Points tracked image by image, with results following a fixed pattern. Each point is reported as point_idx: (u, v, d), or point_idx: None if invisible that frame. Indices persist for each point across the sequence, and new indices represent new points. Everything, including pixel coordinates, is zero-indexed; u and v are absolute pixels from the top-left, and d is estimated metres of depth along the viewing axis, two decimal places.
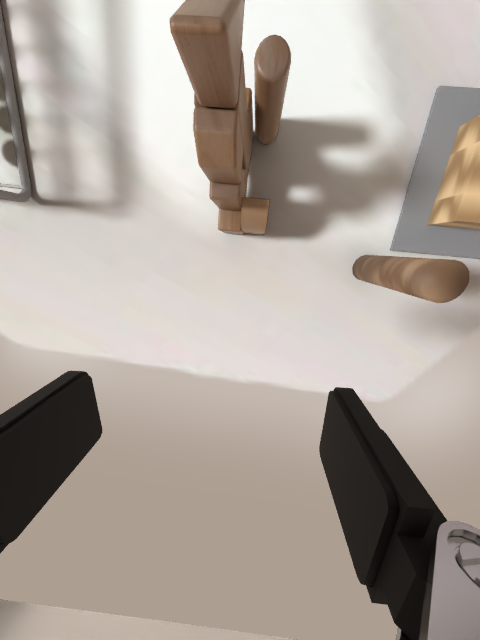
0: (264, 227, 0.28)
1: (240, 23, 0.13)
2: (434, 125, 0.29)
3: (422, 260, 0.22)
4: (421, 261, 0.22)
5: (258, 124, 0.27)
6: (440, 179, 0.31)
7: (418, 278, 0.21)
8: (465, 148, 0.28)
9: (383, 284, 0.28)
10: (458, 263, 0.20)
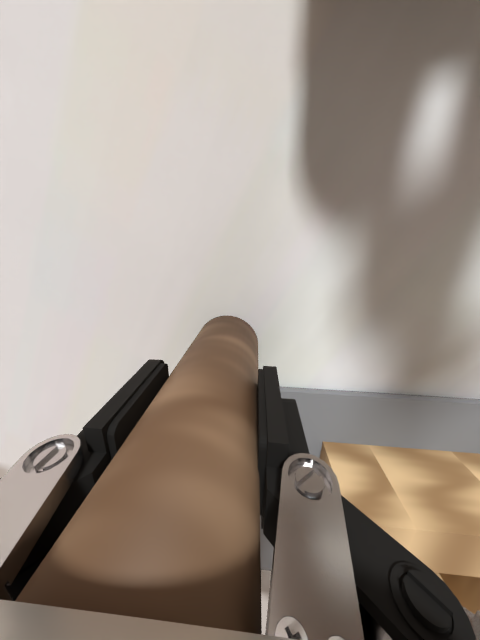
0: None
1: None
2: None
3: None
4: None
5: None
6: (408, 445, 0.15)
7: None
8: None
9: (136, 425, 0.06)
10: None
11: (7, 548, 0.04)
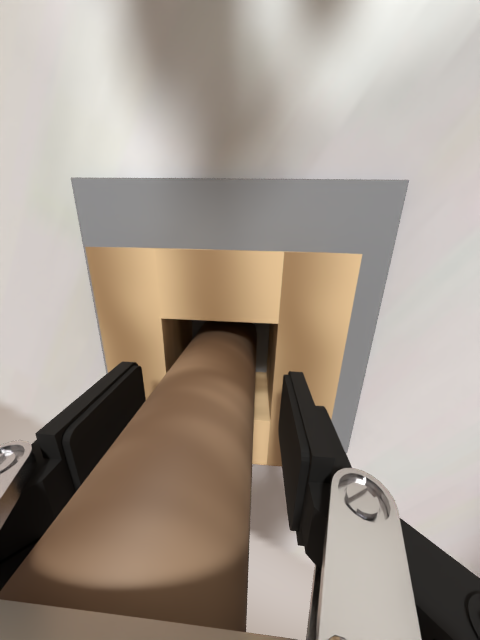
0: None
1: None
2: (332, 194, 0.13)
3: None
4: None
5: None
6: (229, 245, 0.14)
7: None
8: None
9: (153, 391, 0.08)
10: None
11: None
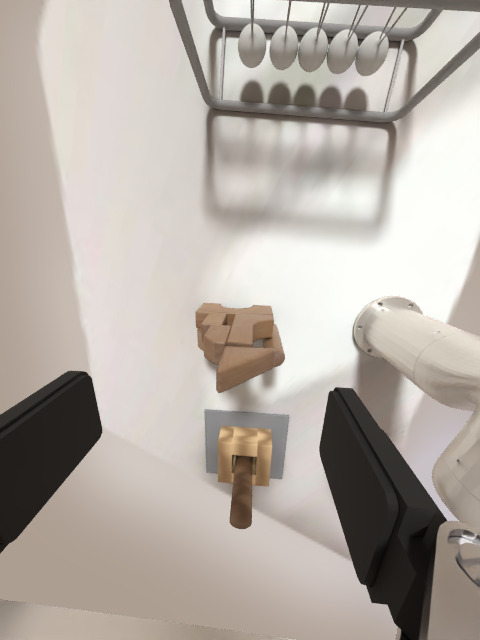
0: (198, 346, 0.40)
1: None
2: (271, 418, 0.52)
3: (250, 503, 0.42)
4: (250, 503, 0.42)
5: None
6: (245, 426, 0.53)
7: (241, 509, 0.40)
8: (257, 435, 0.51)
9: (236, 475, 0.47)
10: (250, 524, 0.40)
11: None
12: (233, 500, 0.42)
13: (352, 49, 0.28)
